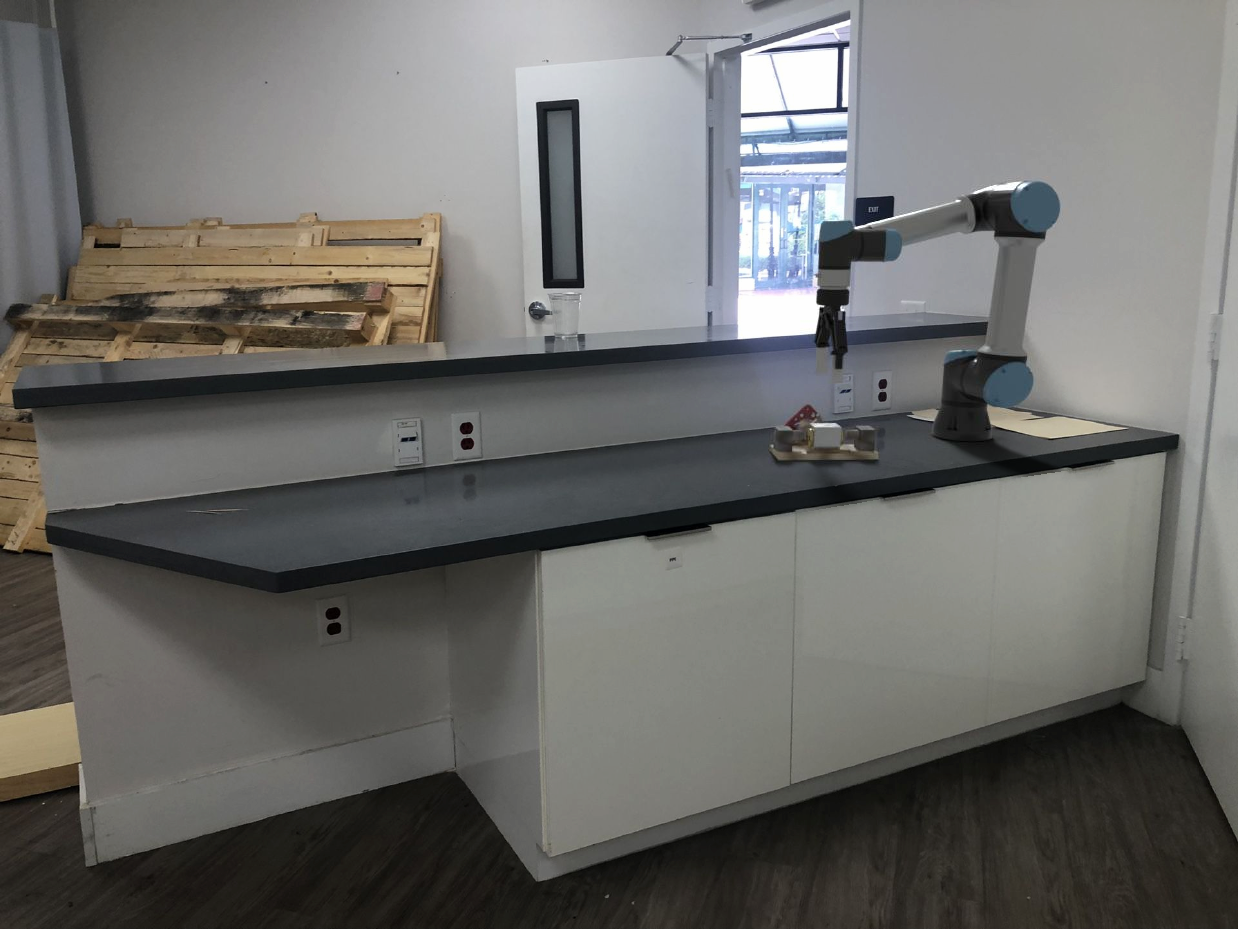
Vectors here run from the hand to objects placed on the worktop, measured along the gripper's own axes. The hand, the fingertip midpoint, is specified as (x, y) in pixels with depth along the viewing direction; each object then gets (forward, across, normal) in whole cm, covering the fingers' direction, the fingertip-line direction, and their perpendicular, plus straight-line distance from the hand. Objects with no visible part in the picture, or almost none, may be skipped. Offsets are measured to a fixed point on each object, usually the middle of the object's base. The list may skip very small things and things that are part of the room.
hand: (828, 378), depth 230 cm
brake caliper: (+19, -9, -2) cm, 21 cm away
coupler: (+17, +1, 0) cm, 17 cm away
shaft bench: (+19, 0, 0) cm, 19 cm away
